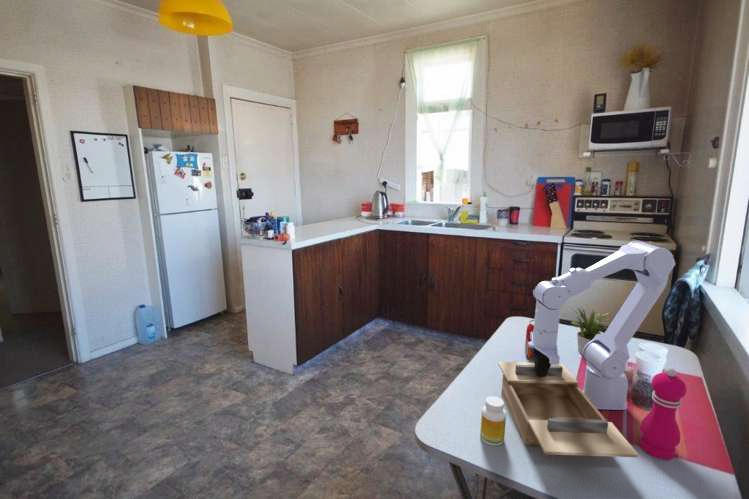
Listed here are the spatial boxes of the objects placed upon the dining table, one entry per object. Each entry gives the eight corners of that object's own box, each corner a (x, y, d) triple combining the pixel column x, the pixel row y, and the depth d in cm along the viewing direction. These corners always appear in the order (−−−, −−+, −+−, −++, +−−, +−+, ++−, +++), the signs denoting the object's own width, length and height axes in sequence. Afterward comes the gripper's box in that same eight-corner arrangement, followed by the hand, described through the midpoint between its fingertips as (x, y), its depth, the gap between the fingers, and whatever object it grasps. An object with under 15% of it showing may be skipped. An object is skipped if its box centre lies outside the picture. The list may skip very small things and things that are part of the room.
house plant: (556, 355, 130) (561, 309, 126) (561, 339, 141) (566, 296, 138) (606, 366, 123) (613, 318, 119) (607, 349, 134) (613, 304, 130)
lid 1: (561, 365, 111) (563, 355, 110) (577, 384, 102) (579, 373, 101) (498, 363, 112) (498, 353, 111) (507, 382, 102) (508, 371, 102)
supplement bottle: (505, 448, 88) (508, 409, 86) (480, 444, 89) (483, 406, 87) (502, 432, 93) (505, 395, 91) (479, 429, 94) (481, 393, 92)
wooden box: (567, 395, 107) (570, 376, 106) (606, 447, 88) (609, 424, 87) (501, 394, 108) (503, 374, 107) (525, 445, 89) (527, 422, 87)
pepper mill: (678, 466, 82) (696, 381, 78) (637, 453, 86) (652, 371, 82) (675, 446, 88) (690, 365, 84) (636, 434, 92) (650, 357, 88)
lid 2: (611, 424, 86) (612, 412, 85) (638, 457, 77) (640, 443, 76) (528, 421, 87) (529, 409, 86) (544, 454, 77) (546, 440, 77)
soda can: (523, 359, 127) (527, 325, 124) (524, 350, 133) (527, 317, 131) (547, 363, 124) (551, 328, 122) (546, 354, 131) (550, 320, 128)
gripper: (520, 316, 108) (516, 361, 111) (540, 340, 93) (535, 390, 96) (546, 317, 107) (542, 362, 110) (570, 340, 93) (564, 391, 96)
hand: (540, 375), depth 103 cm, fingers closed
